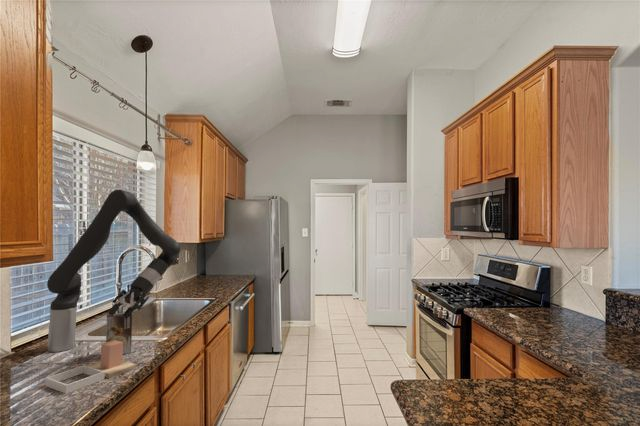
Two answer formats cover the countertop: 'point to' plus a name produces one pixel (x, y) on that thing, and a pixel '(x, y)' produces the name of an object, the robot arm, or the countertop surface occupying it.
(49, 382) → the square frame
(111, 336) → the coffee box
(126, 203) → the robot arm
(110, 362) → the terracotta block
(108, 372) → the maple board
